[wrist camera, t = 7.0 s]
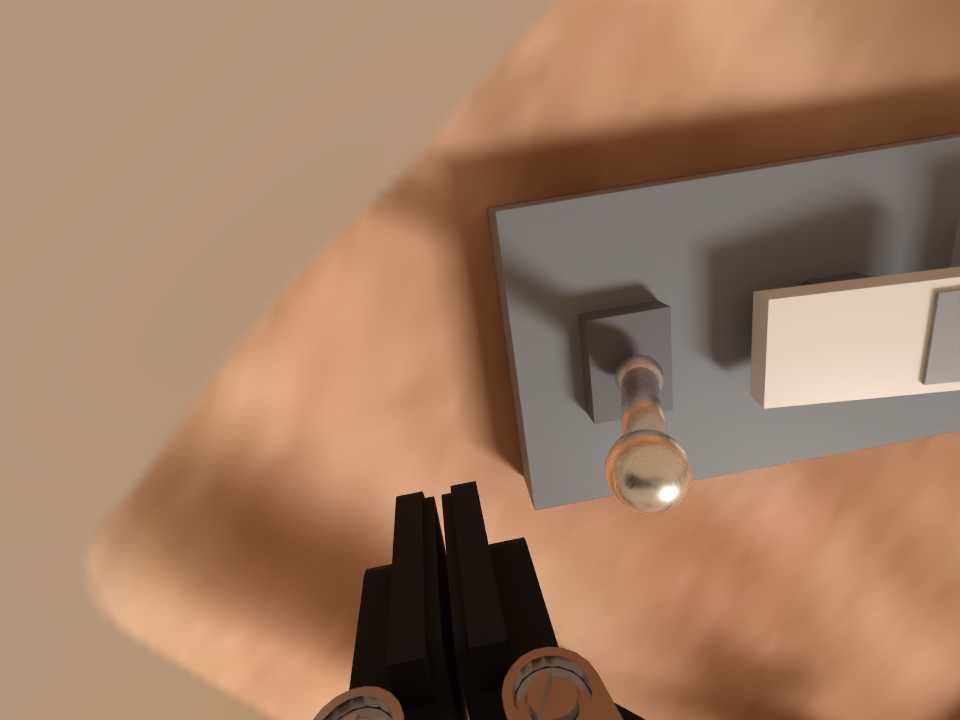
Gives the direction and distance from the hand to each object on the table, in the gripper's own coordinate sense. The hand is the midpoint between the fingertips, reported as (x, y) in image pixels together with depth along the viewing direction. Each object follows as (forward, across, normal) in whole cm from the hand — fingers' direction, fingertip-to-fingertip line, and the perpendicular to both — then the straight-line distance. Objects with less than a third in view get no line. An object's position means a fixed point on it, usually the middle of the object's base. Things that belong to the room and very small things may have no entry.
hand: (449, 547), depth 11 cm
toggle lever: (+7, -7, 0) cm, 10 cm away
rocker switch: (+7, -15, 0) cm, 17 cm away
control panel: (+11, -16, 0) cm, 19 cm away
